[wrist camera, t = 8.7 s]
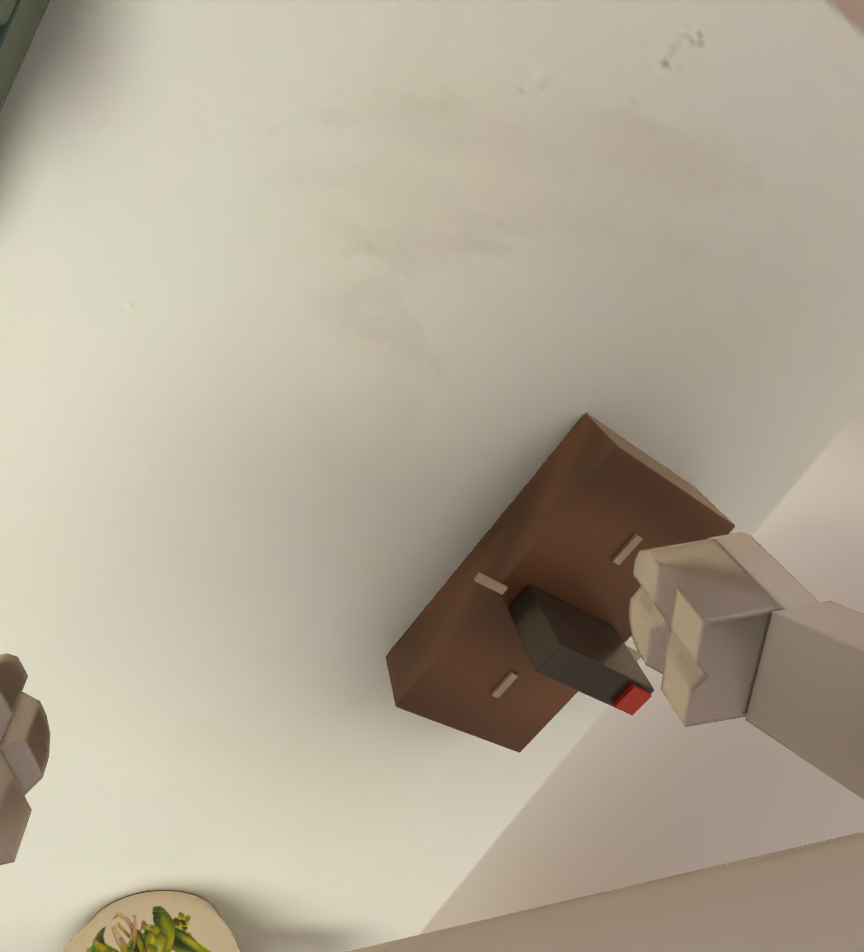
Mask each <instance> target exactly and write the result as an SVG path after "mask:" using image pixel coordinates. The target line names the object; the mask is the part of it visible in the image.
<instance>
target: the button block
mask: <svg viewBox="0 0 864 952" xmlns="http://www.w3.org/2000/svg"><path fill="white" fill-rule="evenodd" d="M48 2H49V0H0V110H1V108H2V106H3V103H4V101H5V99H6V97H7V94H8V92H9V90H10V88H11V85H12V83H13V81H14V79H15V76H16V74H17V72H18V70H19V67H20V65H21V63H22V61H23V58H24V56H25V54H26V52H27V49H28V47H29V45H30V43H31V40H32V38H33V36H34V34H35V31H36V29H37V27H38V25H39V22H40V20H41V18H42V16H43V13H44V11H45V9H46V7H47V4H48Z"/></svg>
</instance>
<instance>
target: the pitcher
mask: <svg viewBox="0 0 864 952" xmlns="http://www.w3.org/2000/svg"><path fill="white" fill-rule="evenodd" d="M63 952H240V951H239V948H238V945H237V943H236V941H235V939H234V937H233V935H232V933H231V931H230V929H229V928H228V927H227V925H226V924H225V923H224V921H223V920H222V919H221V917H220V916H219V915H218V914H217V911H216V910H215V909H214V907H213V906H212V905H211V904H210V903H208V902H207V901H205V900H203V899H201V898H199V897H197V896H194V895H191V894H187V893H183V892H176V891H154V892H146V893H140V894H136V895H132V896H129V897H126V898H123V899H120V900H118V901H116V902H114V903H112V904H110V905H108V906H107V907H105V908H104V909H102V910H101V911H100V912H99V913H97V914H96V915H95V917H94V918H93V919H92V920H91V922H90V923H89V924H87V925H86V926H85V927H84V928H83V929H82V930H81V931H80V932H79V933H78V934H77V935H76V936H75V937H74V938H73V940H72V941H71V942H70V943H69V945H68V946H67V947H66V948H65V950H64V951H63Z"/></svg>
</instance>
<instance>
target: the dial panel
mask: <svg viewBox="0 0 864 952" xmlns="http://www.w3.org/2000/svg"><path fill="white" fill-rule="evenodd" d="M734 527H735V525H734V524H733V523H732V522H731V521H730V520H729V519H728V518H727V517H726V516H725V515H724V514H723V513H722V512H720V511H719V510H718V509H717V508H716V507H715V506H714V505H713V504H712V503H711V502H710V501H709V500H708V499H707V498H706V497H705V496H704V495H703V494H702V493H700V492H699V491H698V490H697V489H696V488H694V487H693V486H692V485H690V484H689V483H687V482H686V481H684V480H683V479H681V478H680V477H678V476H677V475H676V474H674V473H673V472H671V471H670V470H668V469H667V468H665V467H664V466H662V465H661V464H660V463H658V462H657V461H655V460H654V459H652V458H651V457H649V456H648V455H646V454H645V453H644V452H642V451H641V450H639V449H638V448H636V447H635V446H633V445H632V444H630V443H629V442H628V441H626V440H625V439H623V438H622V437H620V436H619V435H617V434H616V433H614V432H613V431H612V430H610V429H609V428H607V427H606V426H604V425H603V424H601V423H600V422H599V421H597V420H596V419H594V418H593V417H591V416H590V415H588V414H587V413H585V414H584V415H583V417H582V418H581V419H580V420H579V422H578V423H577V424H576V425H575V426H574V428H573V429H572V430H571V431H570V433H569V434H568V435H567V436H566V437H565V439H564V440H563V441H562V442H561V444H560V445H559V446H558V447H557V448H556V450H555V451H554V452H553V453H552V454H551V456H550V457H549V458H548V459H547V461H546V462H545V463H544V464H543V465H542V467H541V468H540V469H539V470H538V472H537V473H536V474H535V475H534V476H533V478H532V479H531V480H530V481H529V483H528V484H527V485H526V486H525V487H524V489H523V490H522V491H521V492H520V494H519V495H518V496H517V497H516V498H515V500H514V501H513V502H512V503H511V505H510V506H509V507H508V508H507V509H506V511H505V512H504V513H503V514H502V516H501V517H500V518H499V519H498V520H497V522H496V523H495V524H494V525H493V527H492V528H491V529H490V530H489V531H488V533H487V534H486V535H485V536H484V538H483V539H482V540H481V541H480V542H479V544H478V545H477V546H476V547H475V549H474V550H473V551H472V552H471V553H470V555H469V556H468V557H467V558H466V559H465V561H464V562H463V563H462V564H461V566H460V567H459V568H458V569H457V570H456V572H455V573H454V574H453V575H452V577H451V578H450V579H449V580H448V581H447V583H446V584H445V585H444V586H443V588H442V589H441V590H440V591H439V592H438V594H437V595H436V596H435V597H434V599H433V600H432V601H431V602H430V603H429V605H428V606H427V607H426V608H425V610H424V611H423V612H422V613H421V614H420V616H419V617H418V618H417V619H416V621H415V622H414V623H413V624H412V625H411V627H410V628H409V629H408V630H407V632H406V633H405V634H404V635H403V636H402V638H401V639H400V640H399V641H398V643H397V644H396V645H395V646H394V647H393V649H392V650H391V651H390V652H389V654H388V655H387V656H386V661H387V666H388V671H389V676H390V680H391V685H392V690H393V695H394V700H395V705H396V707H398V708H401V709H403V710H406V711H409V712H411V713H414V714H417V715H419V716H422V717H425V718H428V719H430V720H433V721H436V722H438V723H441V724H444V725H446V726H449V727H452V728H455V729H457V730H460V731H463V732H465V733H468V734H471V735H473V736H476V737H479V738H482V739H484V740H487V741H490V742H492V743H495V744H498V745H500V746H503V747H506V748H508V749H511V750H514V751H517V752H521V751H522V750H523V749H524V748H525V746H526V745H527V744H528V743H529V742H530V741H531V740H532V739H533V738H534V737H535V736H536V735H537V734H538V733H539V732H540V731H541V730H542V729H543V728H544V727H545V725H546V724H547V723H548V722H549V721H550V720H551V719H552V718H553V717H554V716H555V715H556V714H557V713H558V712H559V711H560V710H561V709H562V708H563V707H564V706H565V705H566V703H567V702H568V701H569V700H570V699H571V698H572V697H573V696H574V695H575V694H576V693H577V692H578V691H577V690H575V689H573V688H571V687H568V686H566V685H564V684H562V683H559V682H557V681H555V680H553V679H550V678H548V677H546V676H544V675H541V674H539V673H537V672H536V671H535V669H534V666H533V664H532V662H531V660H530V657H529V655H528V653H527V651H526V649H525V646H524V644H523V642H522V640H521V638H520V635H519V633H518V631H517V629H516V627H515V624H514V622H513V620H512V618H511V616H510V613H509V611H508V608H509V607H510V606H511V605H512V604H513V603H514V601H515V600H516V599H517V598H518V597H519V596H520V594H521V593H522V592H523V591H524V590H525V589H526V588H527V586H528V585H531V586H533V587H535V588H537V589H539V590H541V591H543V592H545V593H546V594H548V595H550V596H552V597H554V598H556V599H558V600H560V601H562V602H564V603H566V604H568V605H570V606H572V607H574V608H576V609H578V610H579V611H581V612H583V613H585V614H587V615H589V616H591V617H593V618H595V619H597V620H599V621H601V622H603V623H605V624H607V625H609V626H610V627H612V628H614V629H616V630H617V632H618V634H619V635H620V637H621V638H622V640H623V641H624V643H625V642H626V641H627V639H628V638H629V637H630V636H631V635H632V633H631V628H630V622H629V609H630V599H631V598H632V597H633V595H634V594H635V593H636V592H637V591H638V589H639V588H640V587H641V585H640V584H639V582H638V581H637V579H636V578H635V576H634V575H633V571H634V563H635V559H636V557H637V555H638V553H639V551H640V550H646V549H652V548H658V547H663V546H669V545H675V544H681V543H687V542H693V541H699V540H706V539H707V538H711V537H716V536H721V535H727V534H729V532H730V531H731V530H732V529H733V528H734ZM627 648H628V649H629V651H630V653H631V654H632V656H633V657H634V659H635V660H636V661H637V660H638V659H639V658H640V657H641V656H640V654H639V652H637V651H635V650H633V649H631V648H629V647H627Z"/></svg>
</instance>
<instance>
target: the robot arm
mask: <svg viewBox="0 0 864 952" xmlns="http://www.w3.org/2000/svg"><path fill="white" fill-rule="evenodd" d="M633 575H634V576H635V578H636V579H637V581H638V582H639V584H640V585H641V587H640V588H639V589H638V591H637V592H636V593H635V594H634V595H633V597H632V598H631V599H630V609H629V622H630V628H631V633H632V638H633V641H634V643H635V646H636V648H637V651H638V652H639V654H640V656H641V657H642V659H643V661H644V662H645V664H646V665H647V666H649V667H651V668H653V669H654V670H656V671H658V672H660V673H662V674H663V678H662V685H661V690H662V691H663V693H664V695H665V696H666V698H667V699H668V701H669V703H670V704H671V706H672V707H673V709H674V710H675V712H676V714H677V715H678V717H679V718H680V720H681V721H682V723H683V724H684V726H685V727H688V726H694V725H699V724H705V723H711V722H717V721H723V720H729V719H734V718H740V717H746V721H748V722H749V723H751V724H752V725H754V726H756V727H757V728H758V729H760V730H761V731H763V732H764V733H766V734H767V735H769V736H770V737H772V738H773V739H775V740H776V741H778V742H779V743H781V744H782V745H784V746H785V747H786V748H788V749H789V750H791V751H792V752H794V753H796V754H797V755H798V756H800V757H801V758H803V759H804V760H806V761H807V762H809V763H810V764H812V765H813V766H815V767H816V768H818V769H819V770H821V771H822V772H824V773H825V774H827V775H828V776H830V777H831V778H833V779H834V780H835V781H837V782H838V783H840V784H841V785H843V786H844V787H846V788H847V789H849V790H850V791H852V792H853V793H855V794H856V795H858V796H859V797H861V798H862V799H864V614H862V613H860V612H857V611H855V610H852V609H849V608H847V607H845V606H842V605H840V604H837V603H835V602H832V601H828V602H822V603H820V602H819V601H818V600H817V599H816V598H815V597H814V596H813V595H812V594H810V593H809V592H808V591H807V590H806V589H805V588H804V587H803V586H802V585H801V584H800V583H799V582H798V581H797V580H796V579H795V578H794V577H793V576H792V575H791V574H790V573H789V572H788V571H787V570H786V569H784V567H783V566H782V565H780V563H778V562H777V561H776V560H775V559H774V558H773V557H772V556H771V555H770V554H769V553H768V552H767V551H766V550H765V549H764V548H763V547H762V546H761V545H760V544H759V543H758V542H757V541H756V540H755V539H754V538H753V537H752V536H750V535H748V534H746V533H743V532H737V533H732V534H727V535H721V536H716V537H711V538H707V539H706V540H699V541H693V542H687V543H681V544H675V545H669V546H663V547H658V548H652V549H646V550H640V551H639V553H638V555H637V557H636V559H635V563H634V571H633ZM27 677H28V675H27V673H26V671H25V669H24V668H23V666H22V664H21V662H20V660H19V658H18V657H17V656H14V655H11V654H0V865H3V864H7V863H12V862H14V861H15V858H16V855H17V852H18V849H19V846H20V843H21V840H22V837H23V834H24V831H25V828H26V826H27V823H28V820H29V817H30V814H31V811H32V810H31V808H30V806H29V804H28V802H27V800H26V798H25V796H24V795H25V794H26V793H27V792H28V791H29V790H30V789H31V788H32V787H33V786H35V785H36V784H37V783H38V782H39V781H40V780H41V779H42V778H43V774H44V771H45V768H46V765H47V761H48V758H49V745H50V730H49V725H48V720H47V716H46V713H45V711H44V709H43V707H42V705H41V702H40V701H38V700H36V699H35V698H33V697H31V696H29V695H27V694H26V693H24V692H22V690H23V687H24V685H25V682H26V680H27ZM347 952H864V832H861V833H856V834H852V835H848V836H843V837H839V838H835V839H830V840H826V841H822V842H817V843H813V844H809V845H804V846H800V847H796V848H791V849H787V850H783V851H779V852H774V853H770V854H766V855H761V856H757V857H752V858H748V859H744V860H740V861H735V862H731V863H727V864H722V865H718V866H714V867H709V868H705V869H701V870H696V871H693V872H688V873H684V874H679V875H675V876H671V877H667V878H662V879H658V880H653V881H649V882H645V883H641V884H636V885H632V886H628V887H624V888H619V889H615V890H611V891H606V892H602V893H597V894H594V895H589V896H585V897H580V898H576V899H572V900H567V901H563V902H559V903H554V904H550V905H546V906H542V907H537V908H533V909H529V910H524V911H521V912H516V913H512V914H507V915H503V916H499V917H495V918H490V919H486V920H481V921H477V922H473V923H468V924H464V925H460V926H456V927H451V928H447V929H443V930H438V931H434V932H430V933H426V934H421V935H417V936H412V937H408V938H404V939H399V940H395V941H391V942H386V943H382V944H378V945H373V946H369V947H365V948H360V949H356V950H352V951H347Z"/></svg>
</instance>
